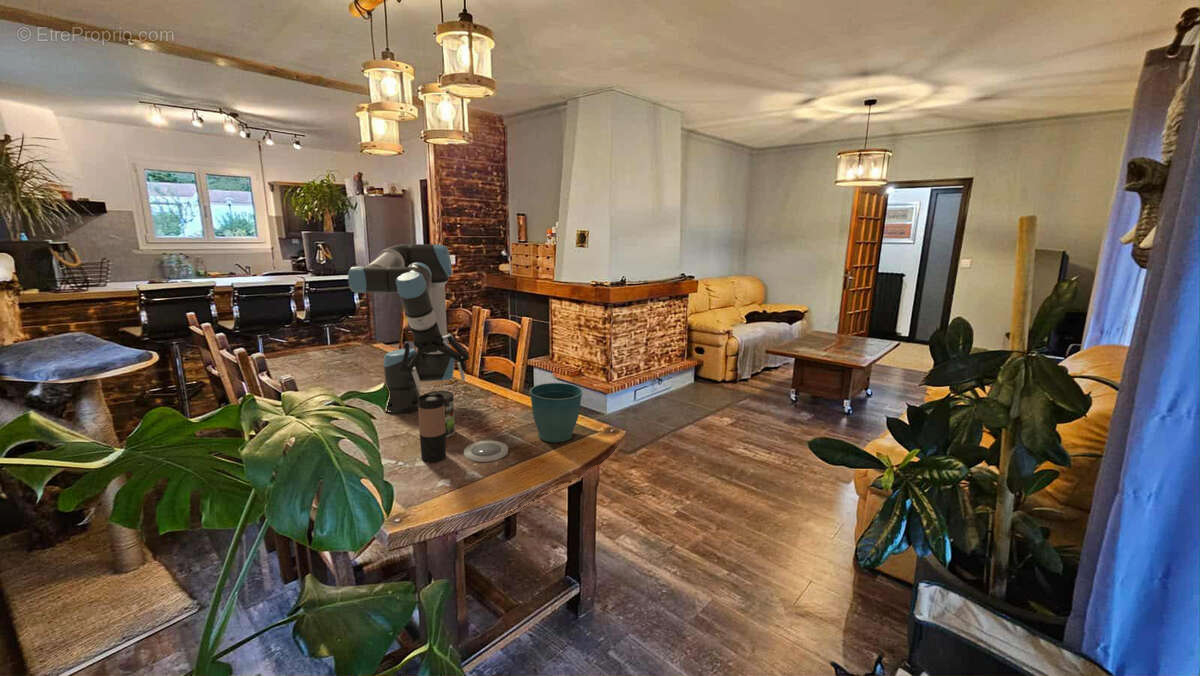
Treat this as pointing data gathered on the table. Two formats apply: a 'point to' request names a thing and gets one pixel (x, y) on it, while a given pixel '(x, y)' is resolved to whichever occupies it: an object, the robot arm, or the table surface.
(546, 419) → the flower pot
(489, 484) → the table surface
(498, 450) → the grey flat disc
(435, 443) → the travel mug
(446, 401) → the coffee can
